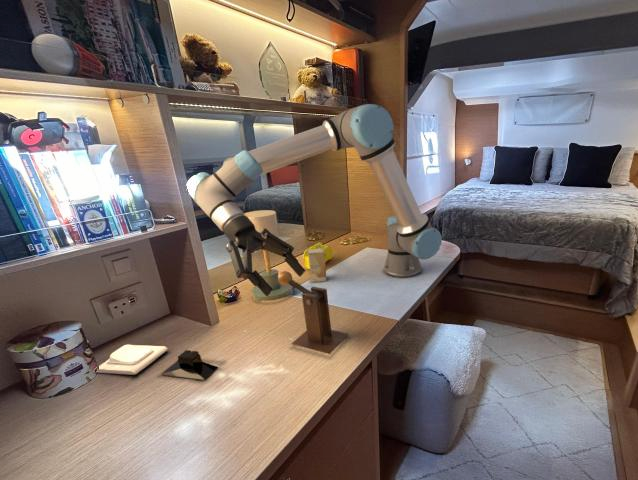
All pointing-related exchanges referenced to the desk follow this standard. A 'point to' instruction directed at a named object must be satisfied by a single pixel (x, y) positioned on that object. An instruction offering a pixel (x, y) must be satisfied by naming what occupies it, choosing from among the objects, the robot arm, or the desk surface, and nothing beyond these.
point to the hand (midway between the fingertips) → (287, 282)
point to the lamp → (269, 222)
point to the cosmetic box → (317, 265)
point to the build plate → (190, 367)
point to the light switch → (131, 359)
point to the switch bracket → (318, 324)
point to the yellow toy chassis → (318, 246)
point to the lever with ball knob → (295, 284)
